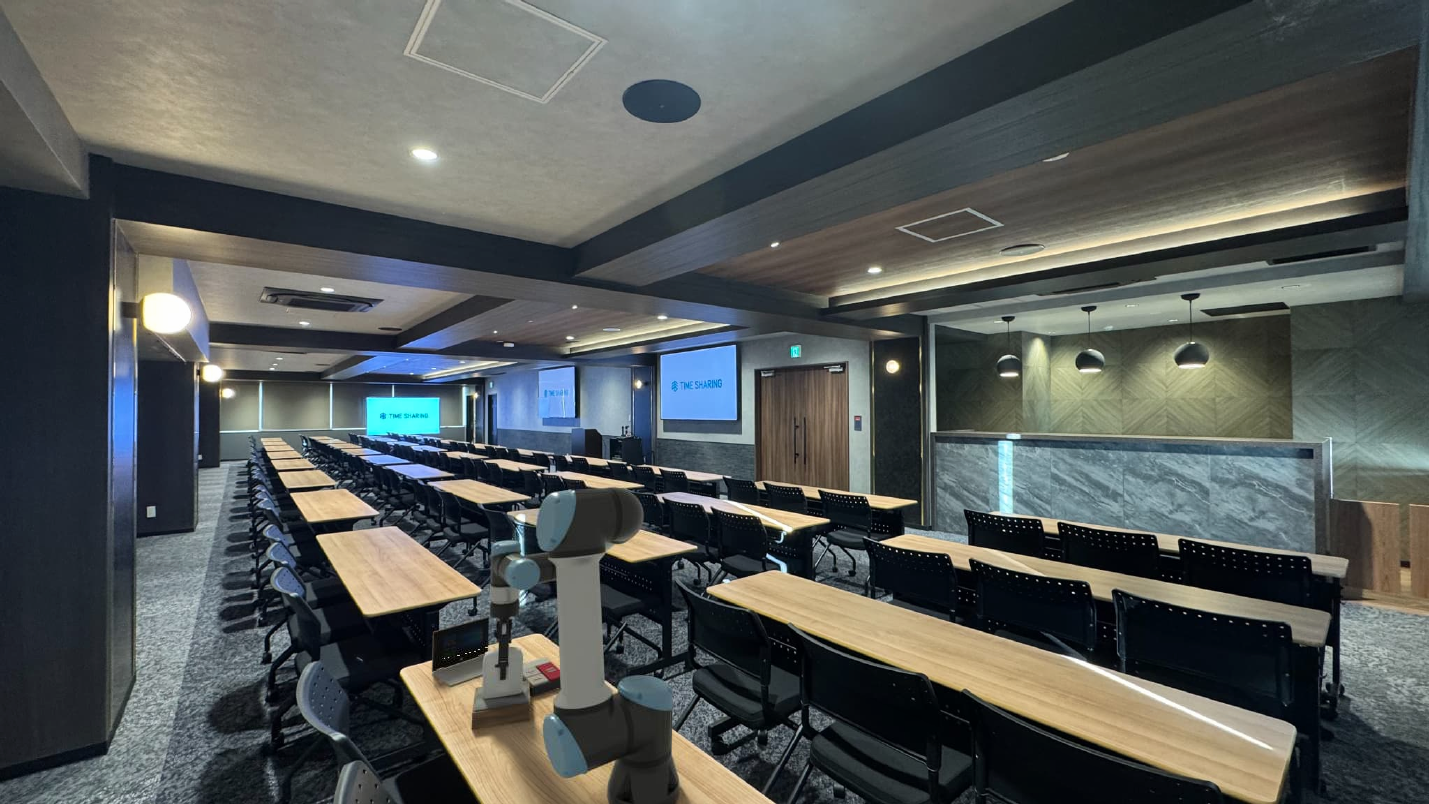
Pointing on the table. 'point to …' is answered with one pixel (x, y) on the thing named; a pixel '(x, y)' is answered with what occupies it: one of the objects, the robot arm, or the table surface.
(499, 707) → the mirror
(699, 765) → the table surface
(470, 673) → the laptop
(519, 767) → the table surface
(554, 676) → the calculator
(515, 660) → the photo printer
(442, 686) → the table surface
